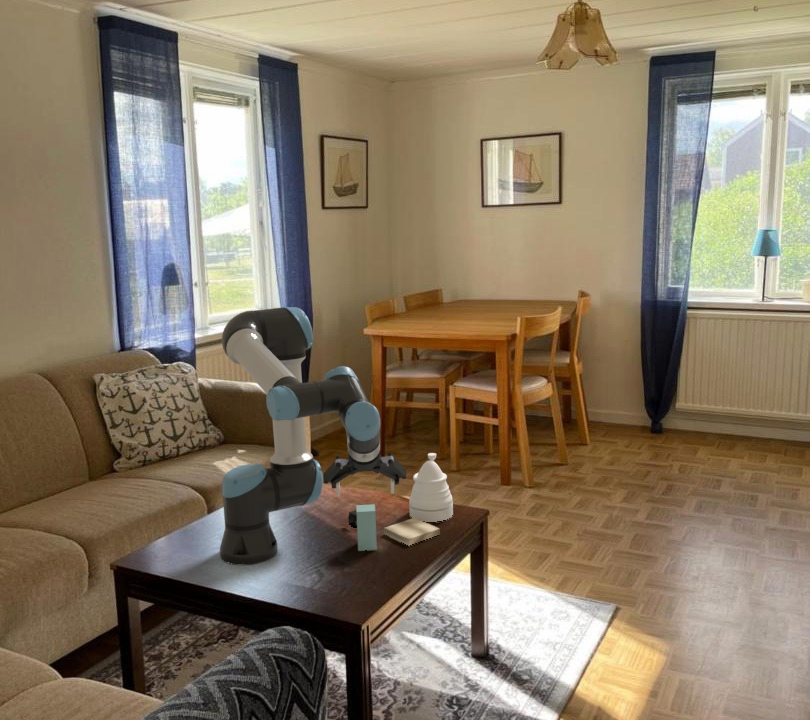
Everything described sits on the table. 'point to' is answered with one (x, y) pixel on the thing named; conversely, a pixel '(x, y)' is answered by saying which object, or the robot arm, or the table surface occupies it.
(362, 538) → the pillar block
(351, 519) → the black boxy piece
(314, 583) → the table surface
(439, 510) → the honey pot
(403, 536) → the base slab
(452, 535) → the table surface
